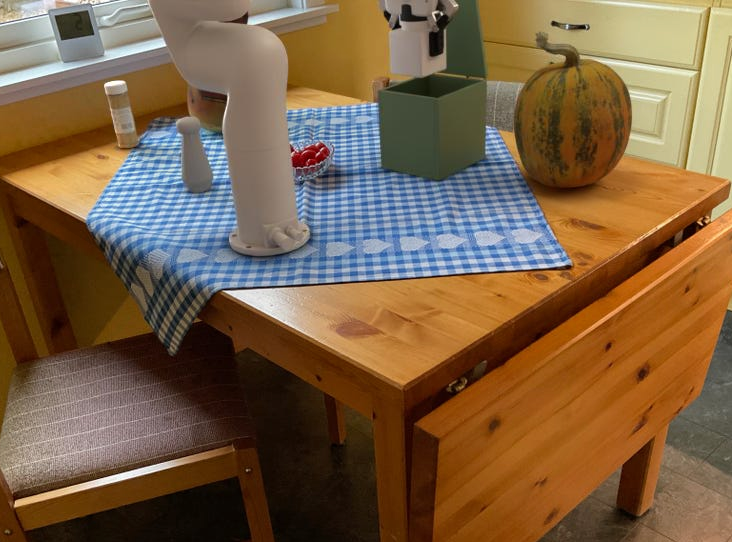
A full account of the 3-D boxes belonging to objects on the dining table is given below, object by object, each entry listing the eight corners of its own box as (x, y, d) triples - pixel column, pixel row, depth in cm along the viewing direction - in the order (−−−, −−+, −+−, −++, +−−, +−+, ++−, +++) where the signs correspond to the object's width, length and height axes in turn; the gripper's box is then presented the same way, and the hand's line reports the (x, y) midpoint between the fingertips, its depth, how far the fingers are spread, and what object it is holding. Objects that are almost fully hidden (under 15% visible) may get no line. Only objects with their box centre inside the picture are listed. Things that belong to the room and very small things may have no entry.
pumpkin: (490, 187, 137) (494, 34, 124) (549, 156, 149) (558, 13, 135) (588, 209, 126) (604, 43, 113) (644, 174, 138) (664, 19, 124)
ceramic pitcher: (276, 136, 172) (258, -15, 156) (184, 142, 173) (157, -8, 157) (284, 112, 188) (268, -27, 172) (200, 117, 189) (176, -21, 173)
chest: (439, 181, 142) (438, 99, 134) (381, 167, 150) (377, 90, 142) (485, 157, 151) (487, 80, 143) (428, 146, 159) (427, 72, 151)
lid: (474, -8, 132) (492, -23, 135) (410, -12, 140) (428, -25, 143) (485, 78, 143) (502, 64, 145) (425, 71, 151) (442, 57, 153)
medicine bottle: (447, 69, 139) (446, -5, 133) (421, 78, 135) (420, 2, 129) (415, 65, 144) (413, -7, 137) (389, 74, 139) (386, 0, 133)
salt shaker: (208, 194, 144) (196, 123, 137) (179, 194, 145) (165, 123, 138) (219, 183, 149) (208, 113, 142) (191, 183, 150) (178, 114, 143)
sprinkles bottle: (139, 141, 176) (126, 78, 169) (139, 147, 172) (125, 83, 165) (118, 144, 175) (104, 81, 168) (117, 150, 172) (103, 86, 164)
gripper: (359, -59, 131) (366, 53, 141) (445, -59, 121) (446, 62, 130) (388, -65, 136) (393, 45, 145) (473, -65, 125) (472, 53, 135)
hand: (418, 52), depth 138 cm, fingers closed on medicine bottle, 7 cm apart
